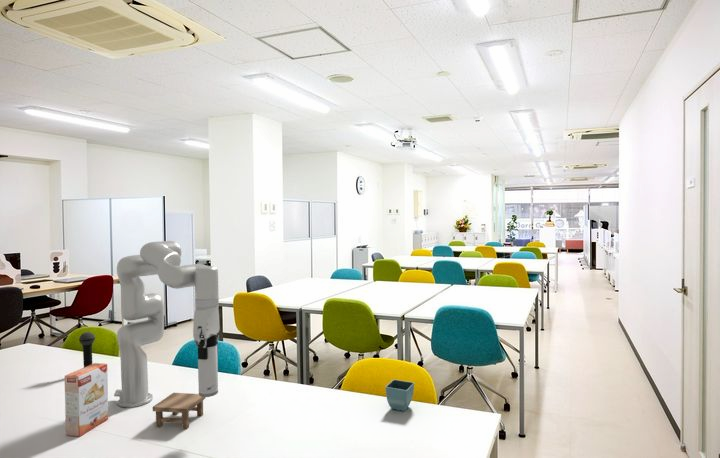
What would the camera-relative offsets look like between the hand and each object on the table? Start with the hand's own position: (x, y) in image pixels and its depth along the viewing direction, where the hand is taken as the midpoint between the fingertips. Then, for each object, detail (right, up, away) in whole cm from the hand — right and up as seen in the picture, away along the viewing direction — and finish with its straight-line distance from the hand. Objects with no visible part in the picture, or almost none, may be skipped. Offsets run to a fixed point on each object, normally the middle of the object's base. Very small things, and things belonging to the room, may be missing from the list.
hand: (208, 355), depth 156 cm
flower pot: (+67, -25, +19) cm, 74 cm away
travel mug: (0, -13, +1) cm, 13 cm away
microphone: (-78, -26, +64) cm, 104 cm away
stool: (-14, -27, +11) cm, 32 cm away
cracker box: (-45, -28, +7) cm, 53 cm away
